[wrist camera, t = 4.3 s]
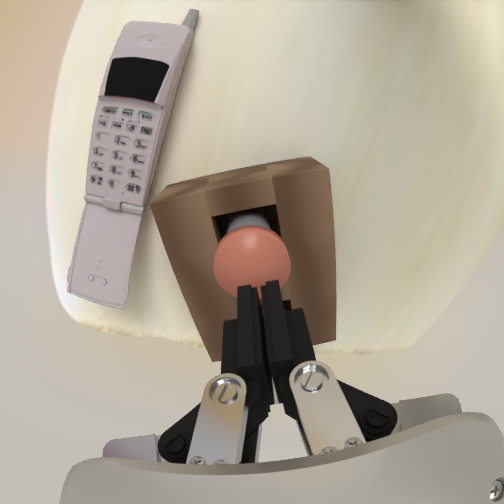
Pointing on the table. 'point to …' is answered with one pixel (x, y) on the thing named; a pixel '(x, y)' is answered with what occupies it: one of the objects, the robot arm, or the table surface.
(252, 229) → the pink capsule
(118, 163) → the mobile phone
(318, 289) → the block
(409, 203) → the table surface
